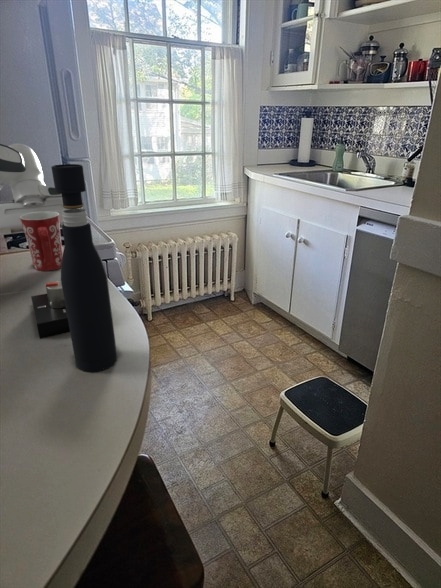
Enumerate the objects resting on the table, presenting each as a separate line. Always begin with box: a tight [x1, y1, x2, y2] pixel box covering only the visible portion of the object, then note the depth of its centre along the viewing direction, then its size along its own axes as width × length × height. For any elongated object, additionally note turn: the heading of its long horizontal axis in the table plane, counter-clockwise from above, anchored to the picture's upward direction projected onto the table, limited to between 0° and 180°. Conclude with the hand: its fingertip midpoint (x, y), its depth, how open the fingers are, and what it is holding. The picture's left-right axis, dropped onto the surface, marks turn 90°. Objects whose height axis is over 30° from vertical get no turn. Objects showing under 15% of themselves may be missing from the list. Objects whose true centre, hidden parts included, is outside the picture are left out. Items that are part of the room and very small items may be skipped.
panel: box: [30, 293, 70, 340], centre depth 76 cm, size 13×10×3 cm
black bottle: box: [51, 163, 118, 373], centre depth 57 cm, size 6×6×30 cm
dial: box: [45, 279, 66, 309], centre depth 74 cm, size 4×4×4 cm
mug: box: [20, 211, 64, 272], centre depth 98 cm, size 13×9×14 cm
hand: (42, 242), depth 103 cm, fingers closed, pressing on mug
